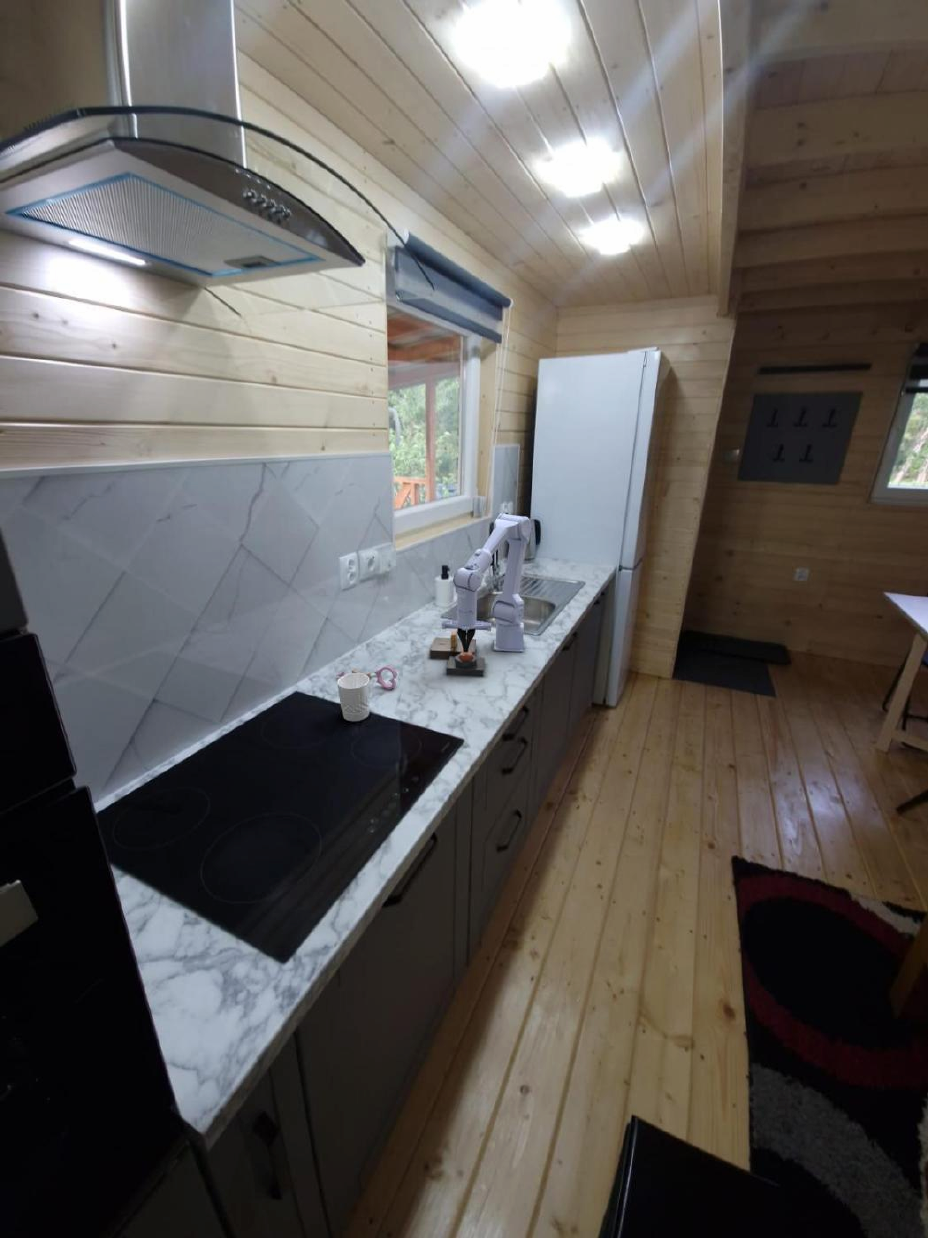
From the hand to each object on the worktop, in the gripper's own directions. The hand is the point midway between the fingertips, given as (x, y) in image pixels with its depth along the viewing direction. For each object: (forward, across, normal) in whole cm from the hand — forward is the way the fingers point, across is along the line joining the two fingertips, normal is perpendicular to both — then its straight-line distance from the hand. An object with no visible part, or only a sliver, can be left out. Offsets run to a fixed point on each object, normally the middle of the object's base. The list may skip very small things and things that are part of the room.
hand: (466, 651), depth 149 cm
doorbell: (+6, 0, 0) cm, 6 cm away
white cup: (+6, -26, -28) cm, 39 cm away
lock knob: (+3, -5, +11) cm, 12 cm away
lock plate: (+6, -5, +11) cm, 14 cm away
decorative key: (+6, -28, -12) cm, 31 cm away
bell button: (+3, 0, 0) cm, 3 cm away
